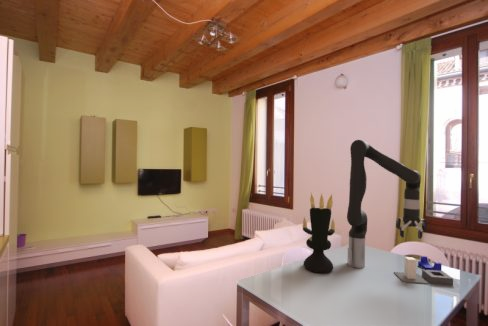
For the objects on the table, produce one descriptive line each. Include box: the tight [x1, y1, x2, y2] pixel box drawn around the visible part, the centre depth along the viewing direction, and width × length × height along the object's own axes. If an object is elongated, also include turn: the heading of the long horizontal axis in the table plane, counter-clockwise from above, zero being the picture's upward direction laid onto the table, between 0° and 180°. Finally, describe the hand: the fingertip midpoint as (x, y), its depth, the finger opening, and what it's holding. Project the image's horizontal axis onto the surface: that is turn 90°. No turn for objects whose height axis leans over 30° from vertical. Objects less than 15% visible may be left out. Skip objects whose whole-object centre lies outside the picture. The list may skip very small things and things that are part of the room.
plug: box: [404, 256, 417, 279], centre depth 144 cm, size 4×4×10 cm
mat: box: [393, 271, 429, 285], centre depth 144 cm, size 12×12×1 cm
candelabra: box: [302, 192, 336, 274], centre depth 154 cm, size 19×22×45 cm
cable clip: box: [417, 255, 442, 271], centre depth 157 cm, size 12×4×6 cm, turn 5°
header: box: [421, 268, 454, 286], centre depth 142 cm, size 10×10×4 cm
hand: (410, 237), depth 144 cm, fingers open, 8 cm apart
